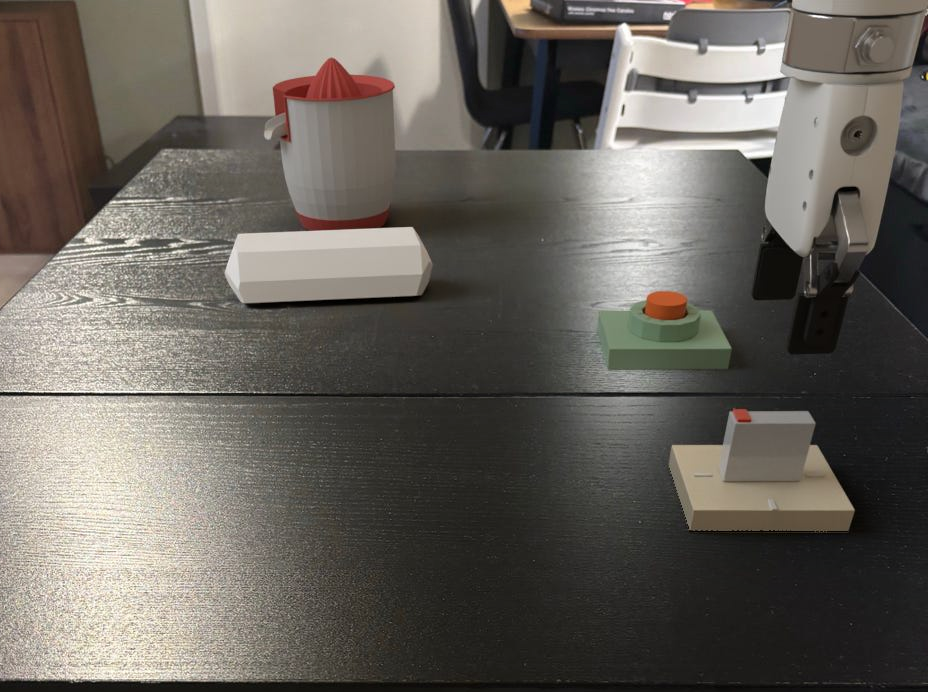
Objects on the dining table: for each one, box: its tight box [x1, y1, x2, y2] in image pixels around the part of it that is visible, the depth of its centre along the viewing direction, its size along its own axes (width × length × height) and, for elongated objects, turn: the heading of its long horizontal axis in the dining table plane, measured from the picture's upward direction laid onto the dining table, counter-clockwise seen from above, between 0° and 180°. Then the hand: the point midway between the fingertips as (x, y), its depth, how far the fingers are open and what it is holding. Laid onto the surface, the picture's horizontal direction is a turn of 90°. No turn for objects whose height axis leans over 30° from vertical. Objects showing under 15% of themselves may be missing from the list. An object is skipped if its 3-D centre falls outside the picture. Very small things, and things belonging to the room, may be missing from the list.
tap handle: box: [718, 408, 817, 482], centre depth 72 cm, size 6×2×5 cm, turn 89°
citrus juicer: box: [263, 57, 397, 231], centre depth 123 cm, size 16×17×20 cm
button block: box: [596, 299, 733, 371], centre depth 96 cm, size 12×10×4 cm
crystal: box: [224, 226, 434, 304], centre depth 108 cm, size 7×7×24 cm
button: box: [645, 290, 688, 320], centre depth 94 cm, size 4×4×2 cm
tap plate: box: [668, 444, 856, 533], centre depth 74 cm, size 12×10×2 cm
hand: (789, 323), depth 67 cm, fingers open, 9 cm apart
